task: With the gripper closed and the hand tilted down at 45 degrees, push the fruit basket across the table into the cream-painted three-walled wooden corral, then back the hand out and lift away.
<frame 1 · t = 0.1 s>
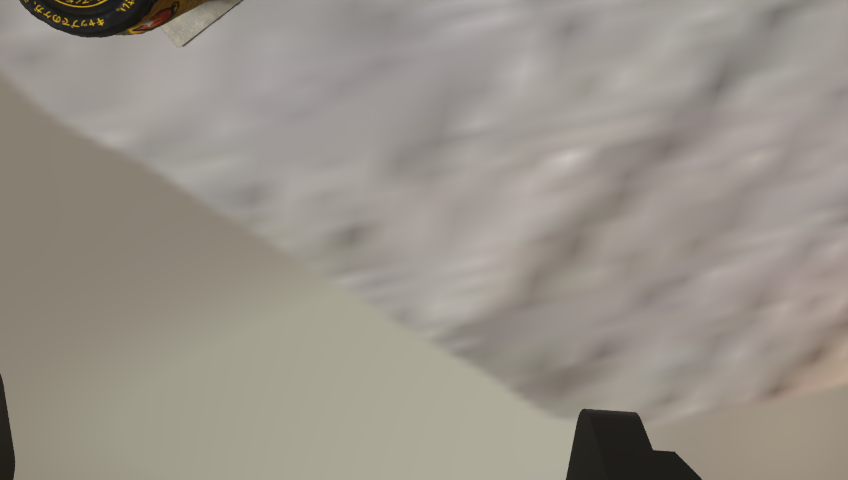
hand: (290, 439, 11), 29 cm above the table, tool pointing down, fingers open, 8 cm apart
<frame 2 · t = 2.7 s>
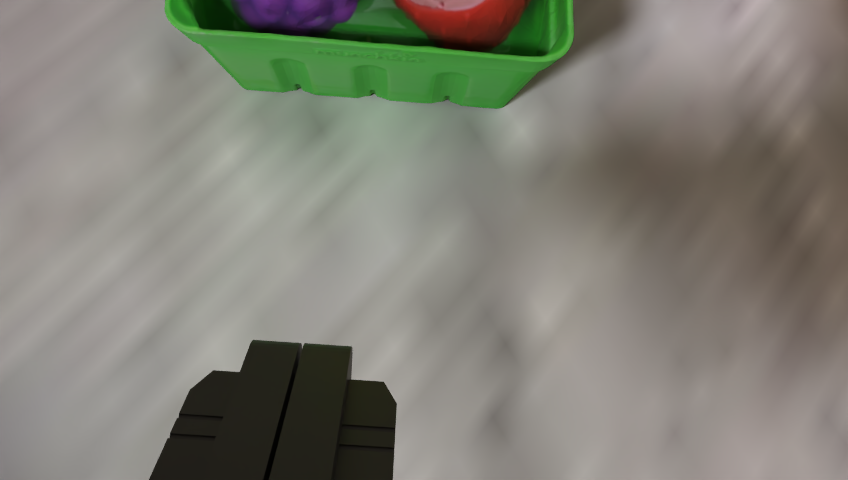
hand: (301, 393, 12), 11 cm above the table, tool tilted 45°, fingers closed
fruit basket: (379, 26, 29), on the table
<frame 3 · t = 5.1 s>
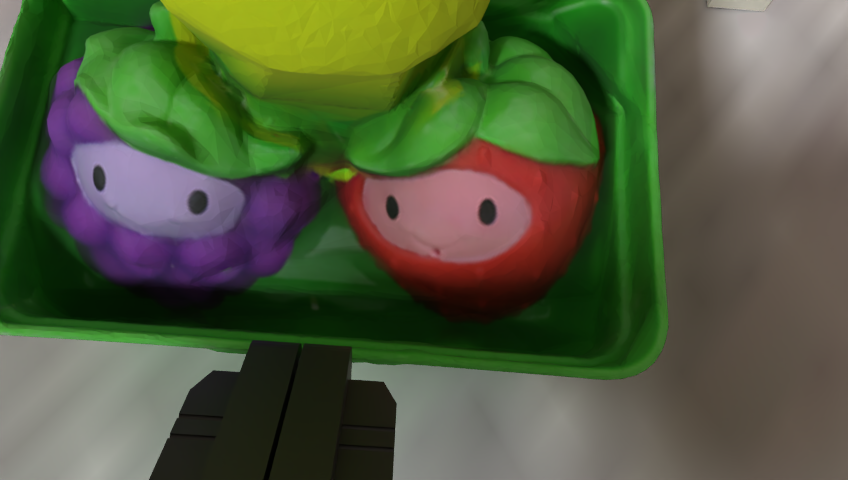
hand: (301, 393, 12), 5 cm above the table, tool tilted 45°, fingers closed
fruit basket: (342, 218, 19), on the table, touching gripper
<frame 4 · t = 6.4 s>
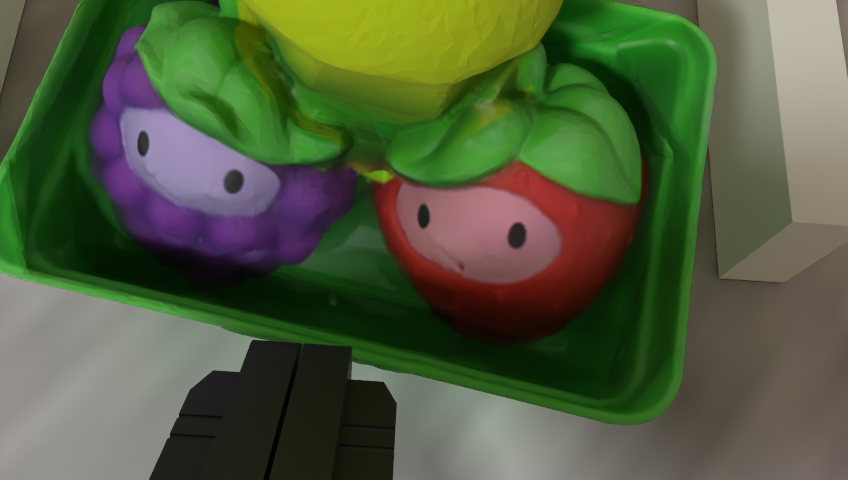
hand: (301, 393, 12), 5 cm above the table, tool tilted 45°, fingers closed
corral: (369, 11, 21), on the table
fruit basket: (378, 219, 19), on the table, touching gripper
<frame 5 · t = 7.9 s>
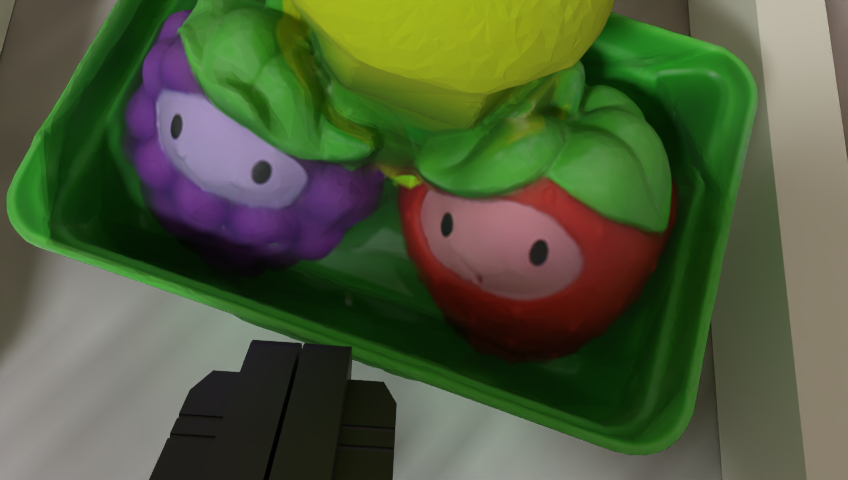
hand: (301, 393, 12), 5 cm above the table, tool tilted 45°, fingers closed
corral: (340, 216, 19), on the table
fruit basket: (402, 224, 19), on the table, touching gripper
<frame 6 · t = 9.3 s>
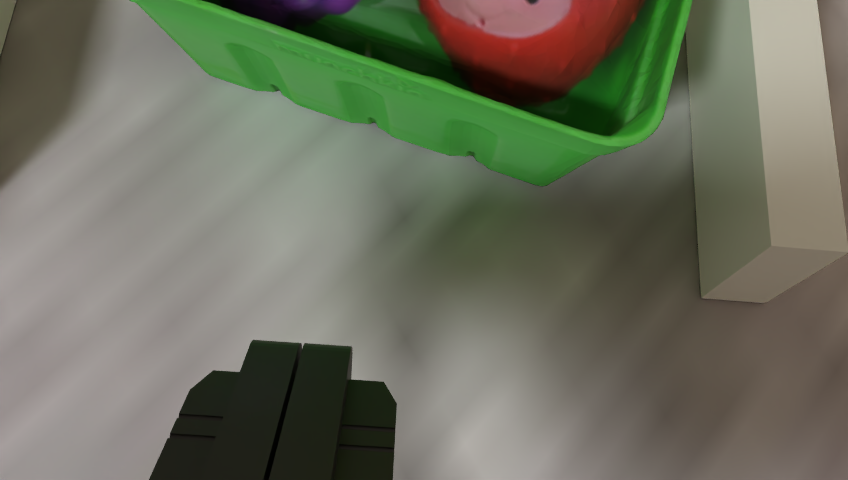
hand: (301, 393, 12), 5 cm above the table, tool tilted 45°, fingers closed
corral: (357, 26, 21), on the table
fruit basket: (413, 34, 21), on the table
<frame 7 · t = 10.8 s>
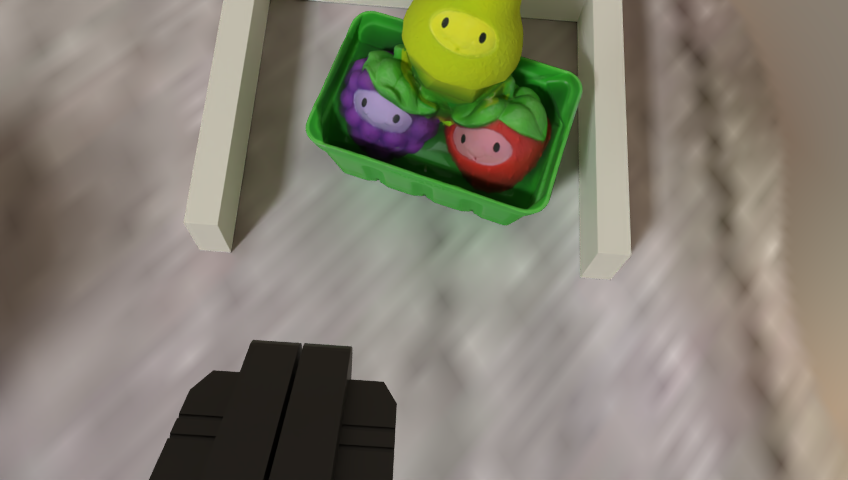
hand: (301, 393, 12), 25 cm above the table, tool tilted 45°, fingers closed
corral: (414, 146, 42), on the table
fruit basket: (442, 149, 42), on the table
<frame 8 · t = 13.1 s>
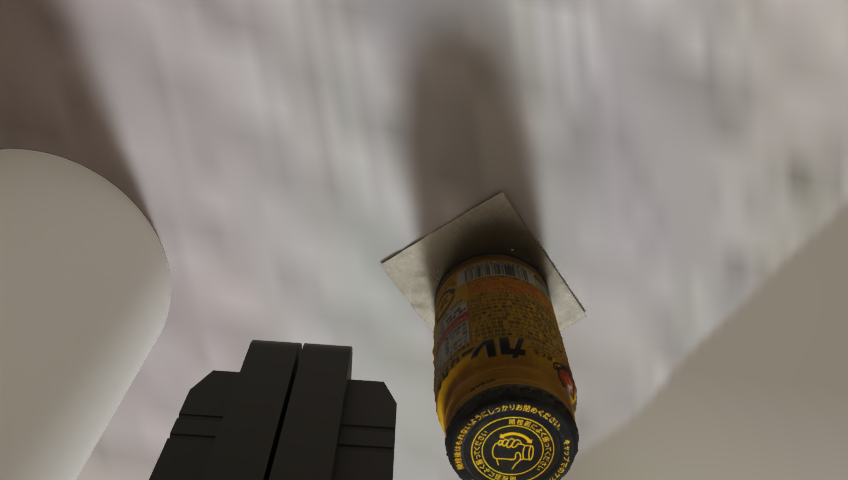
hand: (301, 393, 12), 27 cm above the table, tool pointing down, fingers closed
canister: (40, 272, 42), on the table
condiment: (484, 287, 42), on the table
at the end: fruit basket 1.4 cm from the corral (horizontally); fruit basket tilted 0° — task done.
